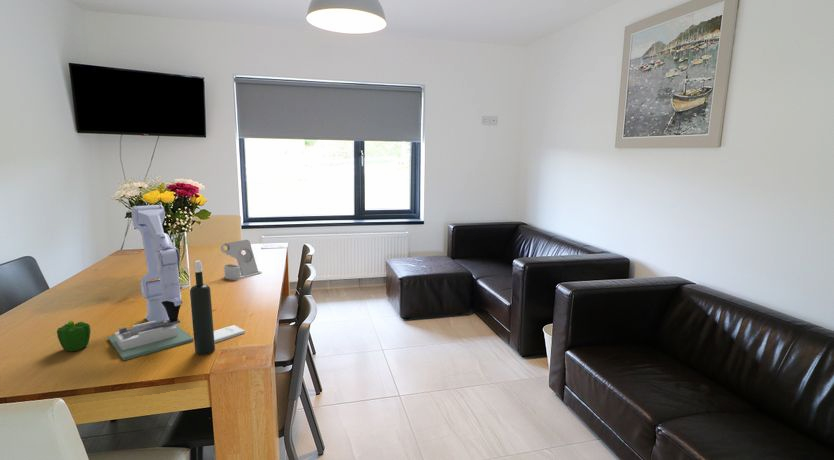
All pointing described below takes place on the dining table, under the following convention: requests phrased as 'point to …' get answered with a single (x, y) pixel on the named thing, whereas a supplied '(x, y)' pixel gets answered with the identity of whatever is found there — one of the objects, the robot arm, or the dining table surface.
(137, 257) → the dining table surface
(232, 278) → the phone holder
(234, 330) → the external hard drive
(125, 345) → the green base plate
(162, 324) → the strap
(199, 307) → the wine bottle
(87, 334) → the bell pepper
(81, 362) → the dining table surface
